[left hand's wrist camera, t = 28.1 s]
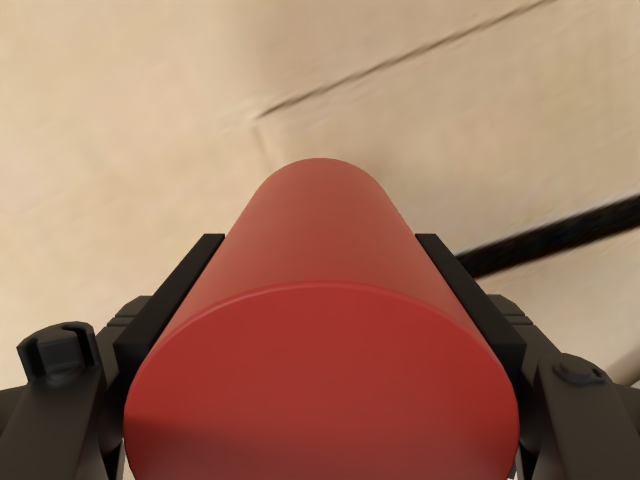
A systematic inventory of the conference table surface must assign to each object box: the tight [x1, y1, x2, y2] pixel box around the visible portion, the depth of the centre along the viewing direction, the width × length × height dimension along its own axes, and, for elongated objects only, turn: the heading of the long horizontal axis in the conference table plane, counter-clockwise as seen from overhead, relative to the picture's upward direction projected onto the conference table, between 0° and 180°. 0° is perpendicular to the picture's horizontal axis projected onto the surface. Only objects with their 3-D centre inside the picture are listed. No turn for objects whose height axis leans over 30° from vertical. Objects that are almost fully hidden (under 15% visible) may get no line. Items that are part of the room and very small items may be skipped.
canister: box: [123, 158, 520, 480], centre depth 12 cm, size 7×7×12 cm
